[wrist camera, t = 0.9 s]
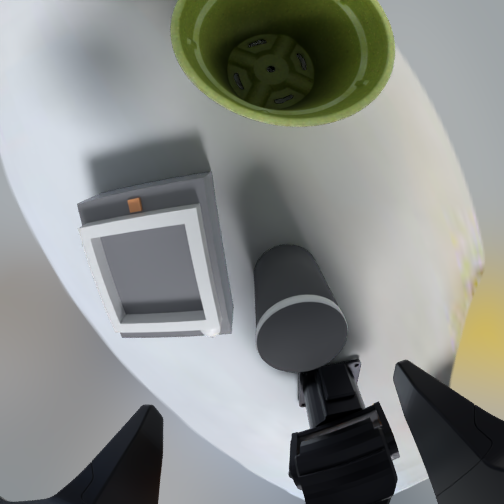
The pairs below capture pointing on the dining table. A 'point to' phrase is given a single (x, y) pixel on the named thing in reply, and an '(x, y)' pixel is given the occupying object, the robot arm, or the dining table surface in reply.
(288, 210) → the dining table surface
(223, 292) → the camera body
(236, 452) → the dining table surface
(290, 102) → the plant pot
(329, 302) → the lens
